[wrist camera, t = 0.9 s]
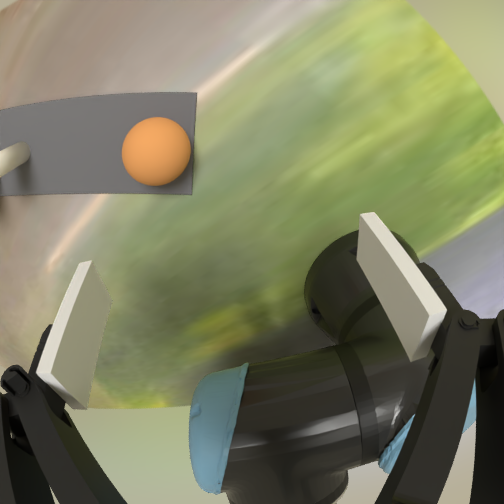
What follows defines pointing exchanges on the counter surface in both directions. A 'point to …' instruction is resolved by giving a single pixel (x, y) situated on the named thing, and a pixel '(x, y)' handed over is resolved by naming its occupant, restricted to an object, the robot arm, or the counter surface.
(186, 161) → the ball
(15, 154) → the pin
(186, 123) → the grey flat board
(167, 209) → the counter surface
